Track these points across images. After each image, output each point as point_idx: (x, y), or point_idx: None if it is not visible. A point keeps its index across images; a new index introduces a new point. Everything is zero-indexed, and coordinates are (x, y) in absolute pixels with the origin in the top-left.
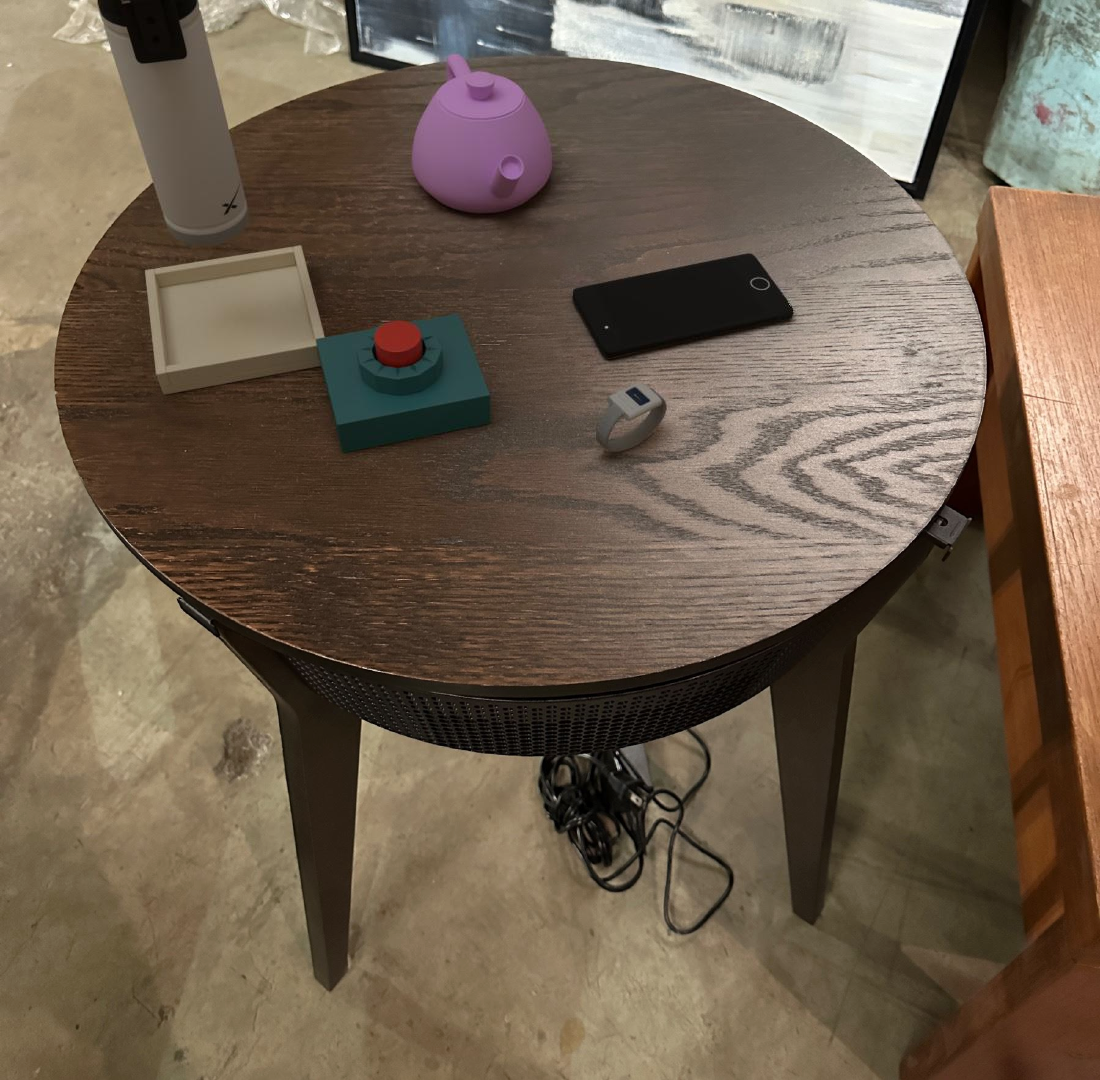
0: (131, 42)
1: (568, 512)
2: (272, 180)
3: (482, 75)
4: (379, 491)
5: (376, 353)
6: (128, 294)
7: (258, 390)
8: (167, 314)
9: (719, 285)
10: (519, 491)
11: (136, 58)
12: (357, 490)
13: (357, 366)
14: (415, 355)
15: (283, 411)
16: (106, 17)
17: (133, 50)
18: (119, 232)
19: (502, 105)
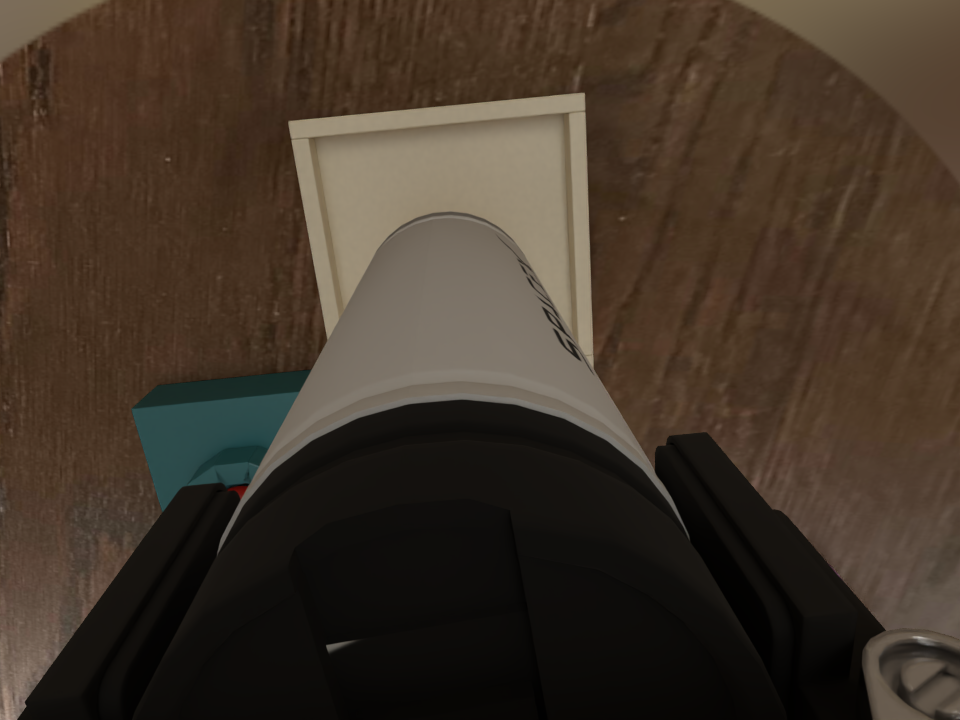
0: (152, 532)
1: (54, 623)
2: (837, 311)
3: None
4: (85, 425)
5: (236, 489)
6: (576, 48)
7: (297, 273)
8: (486, 129)
9: None
10: (87, 580)
11: (181, 491)
12: (86, 399)
13: (257, 443)
14: None
15: (248, 308)
16: (296, 455)
17: (168, 508)
18: (769, 23)
19: None
